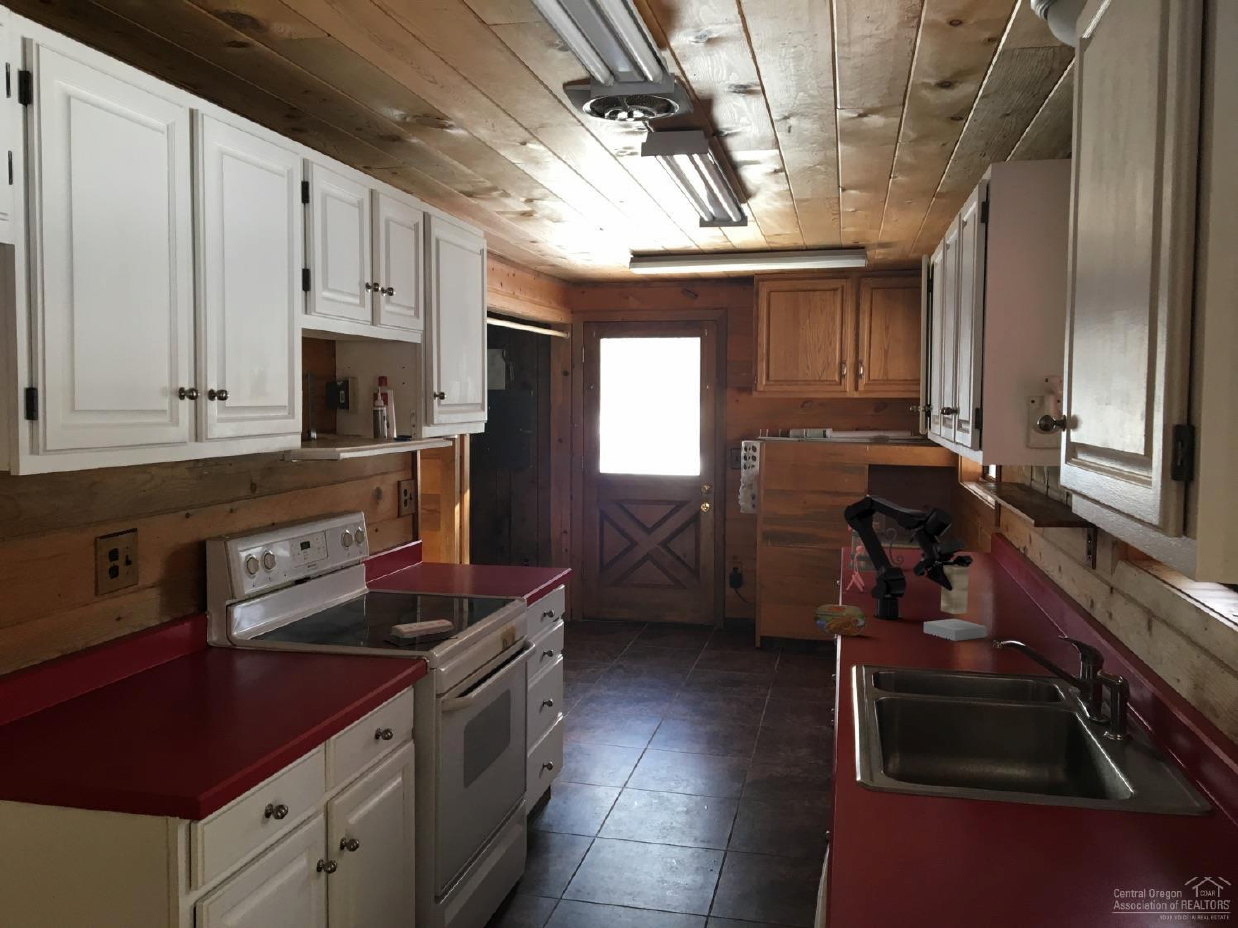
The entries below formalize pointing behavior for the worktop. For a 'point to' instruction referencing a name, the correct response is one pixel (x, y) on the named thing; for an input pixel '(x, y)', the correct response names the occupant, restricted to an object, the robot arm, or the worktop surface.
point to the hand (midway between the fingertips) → (958, 589)
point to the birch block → (955, 590)
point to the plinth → (955, 629)
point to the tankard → (864, 558)
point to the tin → (840, 620)
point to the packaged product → (421, 628)
